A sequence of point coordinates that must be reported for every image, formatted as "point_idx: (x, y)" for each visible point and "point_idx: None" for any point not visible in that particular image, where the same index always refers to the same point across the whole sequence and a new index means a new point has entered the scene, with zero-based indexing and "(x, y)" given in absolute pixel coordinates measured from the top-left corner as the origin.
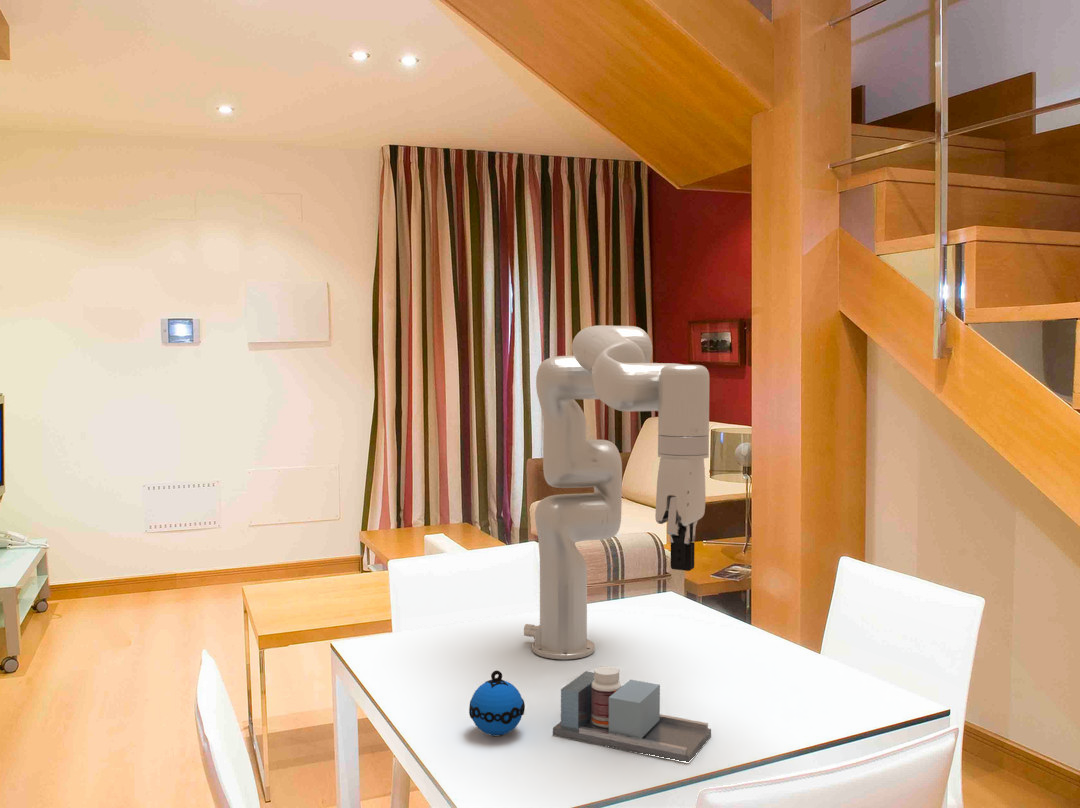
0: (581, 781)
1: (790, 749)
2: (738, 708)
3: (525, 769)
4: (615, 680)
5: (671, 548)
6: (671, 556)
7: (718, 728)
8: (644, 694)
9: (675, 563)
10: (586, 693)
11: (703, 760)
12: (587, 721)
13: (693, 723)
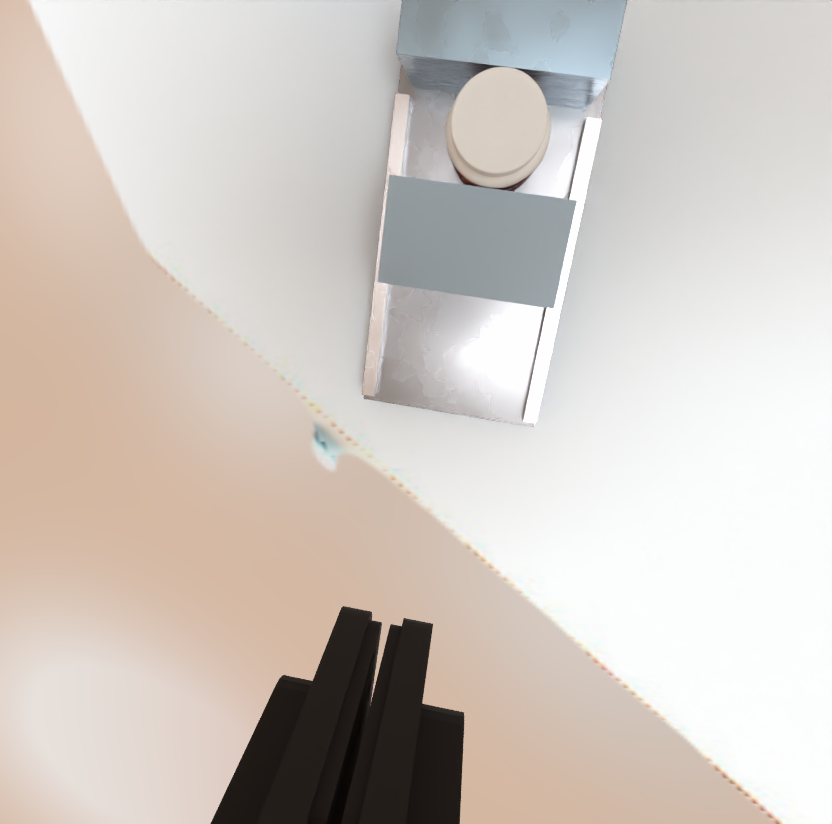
0: (198, 185)
1: (512, 578)
2: (739, 465)
3: (194, 23)
4: (472, 170)
5: (281, 762)
6: (314, 686)
7: (588, 431)
8: (451, 280)
9: (282, 680)
10: (464, 69)
11: (398, 420)
12: None
13: (529, 388)
